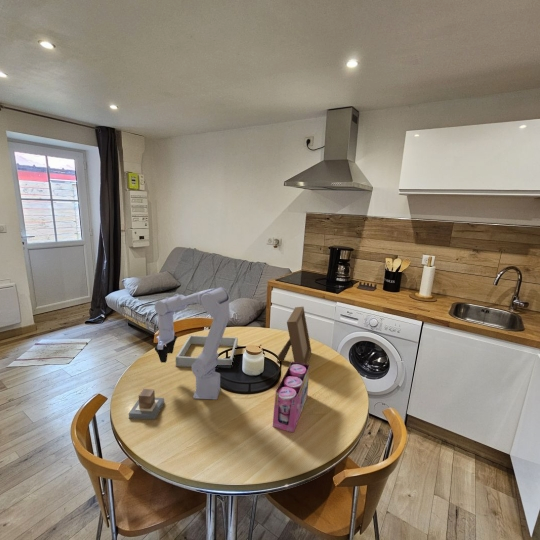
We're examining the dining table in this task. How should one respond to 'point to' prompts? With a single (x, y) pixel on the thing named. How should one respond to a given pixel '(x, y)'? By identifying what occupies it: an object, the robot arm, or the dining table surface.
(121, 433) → the dining table surface
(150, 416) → the plate
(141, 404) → the walnut block
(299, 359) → the photo frame
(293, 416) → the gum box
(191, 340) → the grey corral
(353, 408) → the dining table surface
